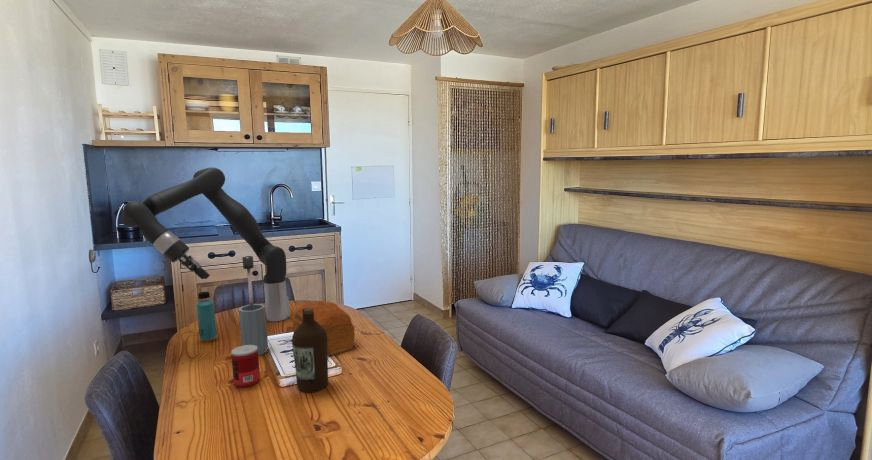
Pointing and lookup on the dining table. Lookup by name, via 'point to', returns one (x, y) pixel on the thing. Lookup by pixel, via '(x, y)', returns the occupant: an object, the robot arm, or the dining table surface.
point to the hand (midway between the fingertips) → (206, 277)
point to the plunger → (249, 276)
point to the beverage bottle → (206, 317)
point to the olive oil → (310, 354)
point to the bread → (330, 325)
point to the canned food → (245, 365)
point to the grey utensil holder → (254, 327)
